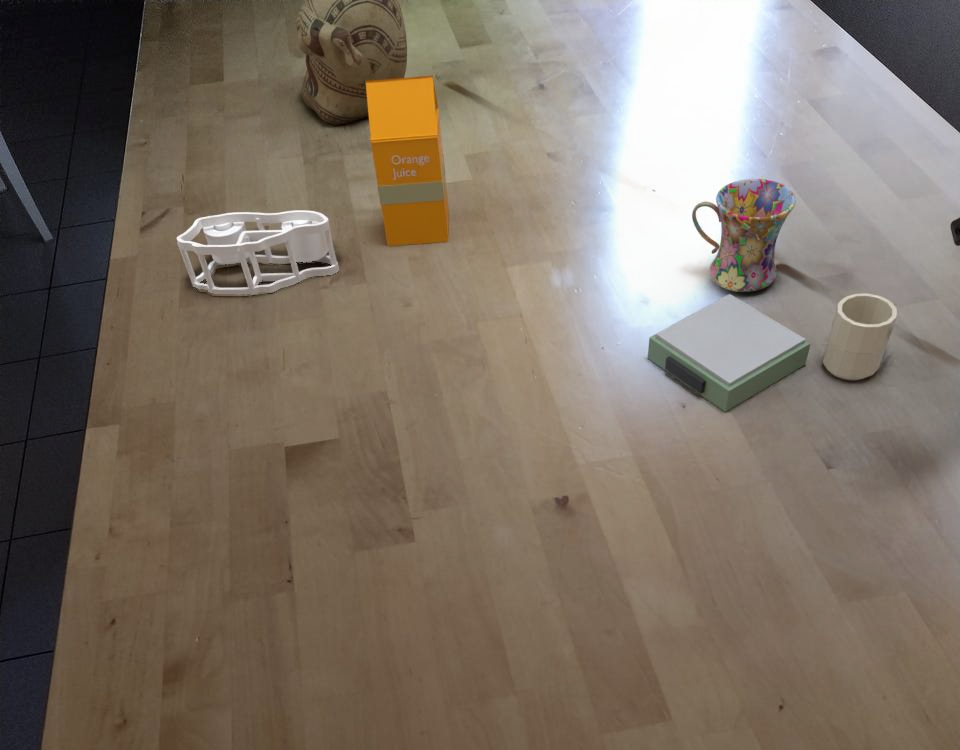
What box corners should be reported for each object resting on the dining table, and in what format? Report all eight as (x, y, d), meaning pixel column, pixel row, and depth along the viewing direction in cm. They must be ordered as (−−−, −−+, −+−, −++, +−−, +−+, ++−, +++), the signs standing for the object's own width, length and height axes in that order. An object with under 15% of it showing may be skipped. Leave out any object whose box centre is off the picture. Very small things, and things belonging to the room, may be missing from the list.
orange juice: (448, 242, 126) (432, 89, 110) (387, 246, 127) (361, 94, 111) (449, 213, 131) (434, 62, 115) (389, 217, 131) (366, 67, 115)
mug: (784, 263, 117) (802, 183, 109) (770, 304, 113) (788, 222, 104) (693, 251, 121) (704, 171, 112) (676, 289, 116) (686, 210, 107)
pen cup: (846, 343, 107) (863, 286, 101) (889, 368, 104) (909, 311, 98) (809, 364, 105) (825, 308, 99) (852, 390, 102) (871, 334, 96)
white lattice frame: (345, 250, 127) (334, 199, 121) (331, 295, 121) (319, 244, 115) (210, 253, 129) (193, 203, 123) (189, 298, 123) (170, 248, 117)
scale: (725, 315, 112) (729, 290, 109) (805, 364, 105) (812, 339, 102) (644, 360, 108) (646, 335, 105) (721, 414, 101) (726, 389, 98)
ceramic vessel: (293, 138, 148) (242, -86, 124) (313, 81, 161) (270, -132, 137) (407, 132, 147) (377, -96, 123) (418, 75, 159) (393, -142, 135)
